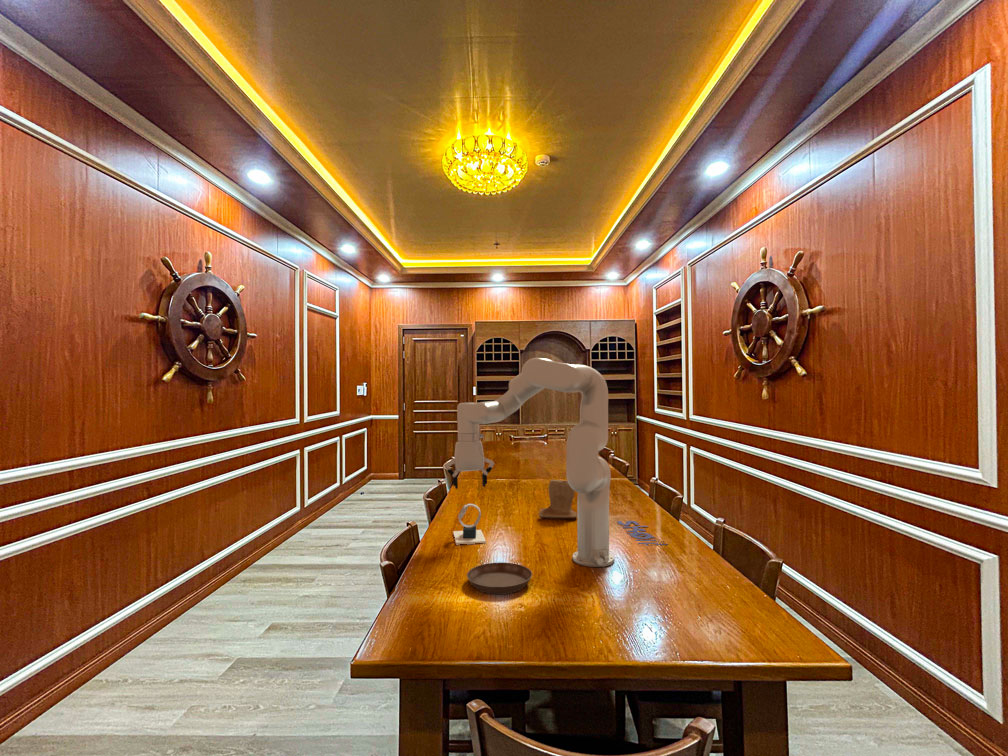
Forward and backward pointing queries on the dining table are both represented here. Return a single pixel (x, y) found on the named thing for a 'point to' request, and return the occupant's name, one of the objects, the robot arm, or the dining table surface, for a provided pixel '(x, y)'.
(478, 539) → the pad
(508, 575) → the plant saucer
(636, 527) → the signage
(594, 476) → the robot arm
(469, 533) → the watch
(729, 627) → the dining table surface
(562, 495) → the brown boot
